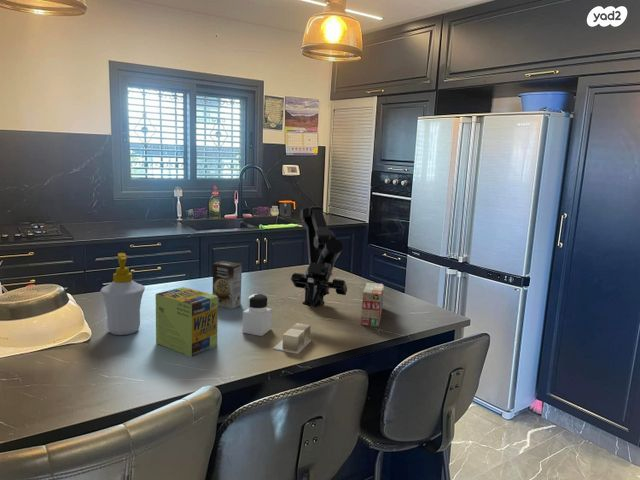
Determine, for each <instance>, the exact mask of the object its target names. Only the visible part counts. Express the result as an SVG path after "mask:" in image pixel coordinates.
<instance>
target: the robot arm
mask: <svg viewBox="0 0 640 480" xmlns="http://www.w3.org/2000/svg"><path fill="white" fill-rule="evenodd" d="M299 212H300V213H299V219H300V220H301V225H302V226H303V228H304V229H305V230H306V241H307V254H308V255H307V257H308V267H307V268H306V270H305V273H300V272H294V273H292V275H291V276H290V280H291V282H292V284H293V286H294V287H295V288H300V289H304V291H305V292H304V301H302V304H303V305H308V306H310V307H315V308H316V307H319V306H321V305H323V304H325V301H324V300H325V299H324V298H325V296H326V295H329V294H330V289H334V290H335V293H336V295H342V296H346V295H347V292H348V287H347V284H346V281H345V280H343V279H340V278H339V279H338V278H333V279H332V281H330V278H331V277H332V276H333V269H334V267H335V263H336V260H337V259H338V258H339V256H340V254H341V252H342V250H343V248H344V247H343V244H342V242H341V240H339V239H337V236H336V235H335V233H334V232H333V230H331V229H329V227H328V225H327V221H326V218H325V215H324V208H323V206H318V205H316V206H314V205H311V206H309V207H304V208H302V209H301V210H300V211H299Z"/></svg>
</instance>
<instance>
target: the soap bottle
mask: <svg viewBox="0 0 640 480" xmlns="http://www.w3.org/2000/svg"><path fill="white" fill-rule="evenodd" d="M117 257H118V259H117V260H118V265H119V267H116V270H115V273H113V275H112V282H111V283H109V284H108V285H107V284H106V285H105V286H103V287H102V288H101V289H100V294H101V296H102V298H103V301H104V306H105V309H106V310H105V311H106V322H107V324H106V325H107V329H108V332H109V333H111V334H112V335H115V336H116V335H117V336H127V335H132V334H134V333H136V332H138V330H139V329H140V326H141V305H142V298H143V294H144V293H145V290H146V289H145V287H146V286H144V285H143V284H142V283H141V284H140V283H138V282H136V281H135V280H133V273H132V272H130V268H129V267H127V266H126V263H127V254H126V253H124V252H118V253H117Z"/></svg>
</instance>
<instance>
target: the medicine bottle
mask: <svg viewBox="0 0 640 480" xmlns="http://www.w3.org/2000/svg"><path fill="white" fill-rule="evenodd" d="M247 300H248V302H247V303H248V304H247V305H248V306H247V309H245V310H243V312H242V333H244V334H250V335H254V336H259V337H260V336H261V337H263V336H264V335H265V334H267V333H268V332H269V331H270V330H272V318H273V317H272V316H273V309H272V308H271V307H270V308H268V297H267V295H265V294H263V293H262V294H261V293H254V294H250V295H249V296H248V299H247Z"/></svg>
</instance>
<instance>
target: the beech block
mask: <svg viewBox="0 0 640 480" xmlns="http://www.w3.org/2000/svg"><path fill="white" fill-rule="evenodd" d="M311 325H312V324H307V323H301V322H297V323H295V324H294V325H292V326H291V327H290V328H289V329H288V330H287V331H285V332H284V333H283V334H282V340H283V349H286V350H291V351H296V352H297V351H298V350H299V349H300V348H301V347H302V346H303V345H304V344H305V343H306V342H307V341H308V340H309V339H310V340H311Z"/></svg>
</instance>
